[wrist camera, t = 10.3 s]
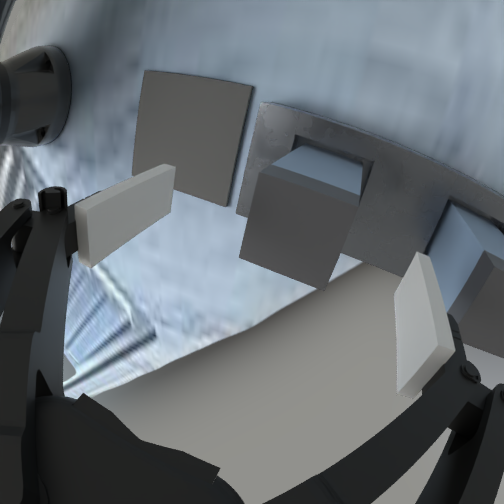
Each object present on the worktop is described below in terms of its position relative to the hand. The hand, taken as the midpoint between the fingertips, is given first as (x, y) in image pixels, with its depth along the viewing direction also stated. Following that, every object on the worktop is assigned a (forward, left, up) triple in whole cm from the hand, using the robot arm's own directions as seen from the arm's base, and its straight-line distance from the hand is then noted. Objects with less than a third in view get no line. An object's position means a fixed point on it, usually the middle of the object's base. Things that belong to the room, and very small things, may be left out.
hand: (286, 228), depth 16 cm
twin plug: (+13, 0, -12) cm, 18 cm away
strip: (+10, 0, -13) cm, 17 cm away
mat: (-14, 0, -13) cm, 19 cm away
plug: (0, 0, -12) cm, 12 cm away
